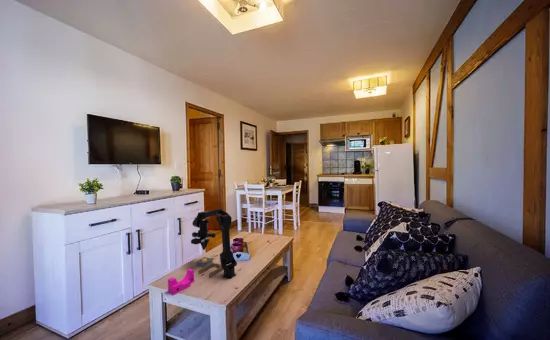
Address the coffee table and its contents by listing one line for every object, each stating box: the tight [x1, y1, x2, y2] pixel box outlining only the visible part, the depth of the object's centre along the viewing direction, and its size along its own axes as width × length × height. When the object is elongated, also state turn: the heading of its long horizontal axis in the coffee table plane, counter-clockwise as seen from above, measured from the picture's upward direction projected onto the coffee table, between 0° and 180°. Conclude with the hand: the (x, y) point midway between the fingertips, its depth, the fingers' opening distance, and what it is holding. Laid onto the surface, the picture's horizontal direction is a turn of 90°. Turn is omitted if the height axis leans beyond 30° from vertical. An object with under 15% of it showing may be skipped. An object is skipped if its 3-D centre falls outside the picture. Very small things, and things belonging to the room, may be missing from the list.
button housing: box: [195, 256, 214, 268], centre depth 164 cm, size 8×8×3 cm
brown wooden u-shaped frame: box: [197, 262, 224, 279], centre depth 152 cm, size 11×14×2 cm
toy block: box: [167, 268, 195, 296], centre depth 133 cm, size 15×6×8 cm, turn 148°
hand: (204, 249), depth 164 cm, fingers closed
